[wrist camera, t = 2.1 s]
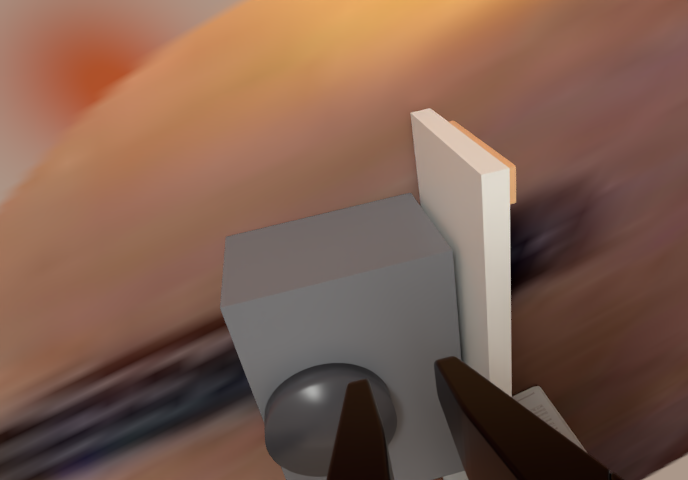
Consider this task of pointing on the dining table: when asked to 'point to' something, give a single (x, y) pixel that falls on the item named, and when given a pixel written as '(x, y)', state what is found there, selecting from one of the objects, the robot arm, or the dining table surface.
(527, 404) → the supplement box
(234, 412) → the dining table surface
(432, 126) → the side door
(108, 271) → the dining table surface
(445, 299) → the camera case
